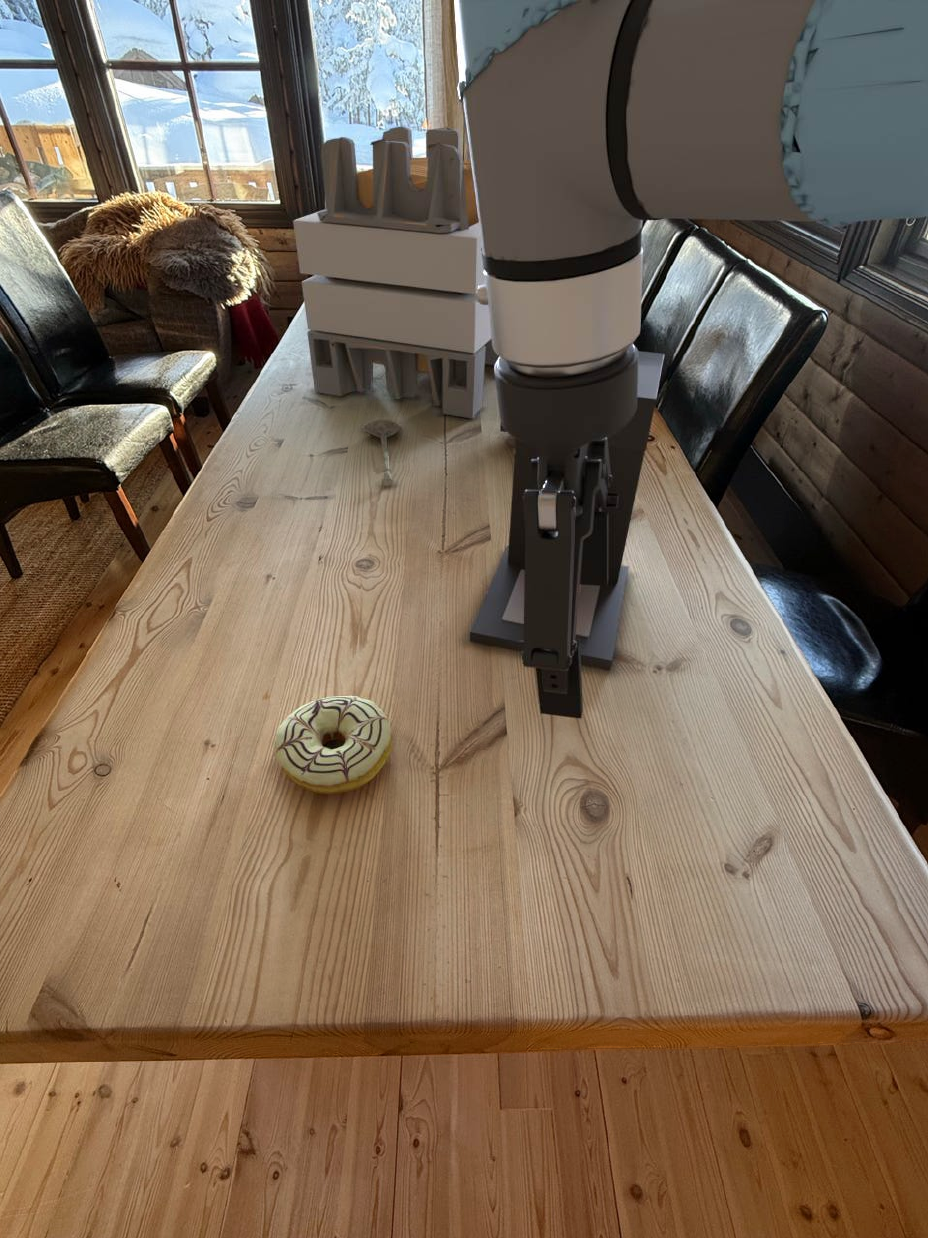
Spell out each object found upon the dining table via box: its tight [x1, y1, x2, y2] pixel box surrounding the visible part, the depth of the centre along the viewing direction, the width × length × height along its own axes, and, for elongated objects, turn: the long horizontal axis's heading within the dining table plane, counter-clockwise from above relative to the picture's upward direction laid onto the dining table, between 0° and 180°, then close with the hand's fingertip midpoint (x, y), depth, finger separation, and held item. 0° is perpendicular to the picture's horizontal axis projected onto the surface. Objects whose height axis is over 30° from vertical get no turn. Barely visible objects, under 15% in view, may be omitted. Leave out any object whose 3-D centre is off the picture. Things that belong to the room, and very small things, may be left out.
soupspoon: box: [362, 419, 402, 487], centre depth 109 cm, size 22×3×7 cm
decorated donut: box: [273, 695, 393, 795], centre depth 62 cm, size 10×11×4 cm
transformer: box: [292, 125, 500, 420], centre depth 122 cm, size 34×33×41 cm
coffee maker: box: [469, 350, 665, 671], centre depth 71 cm, size 18×16×29 cm
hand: (577, 641), depth 48 cm, fingers open, 13 cm apart
